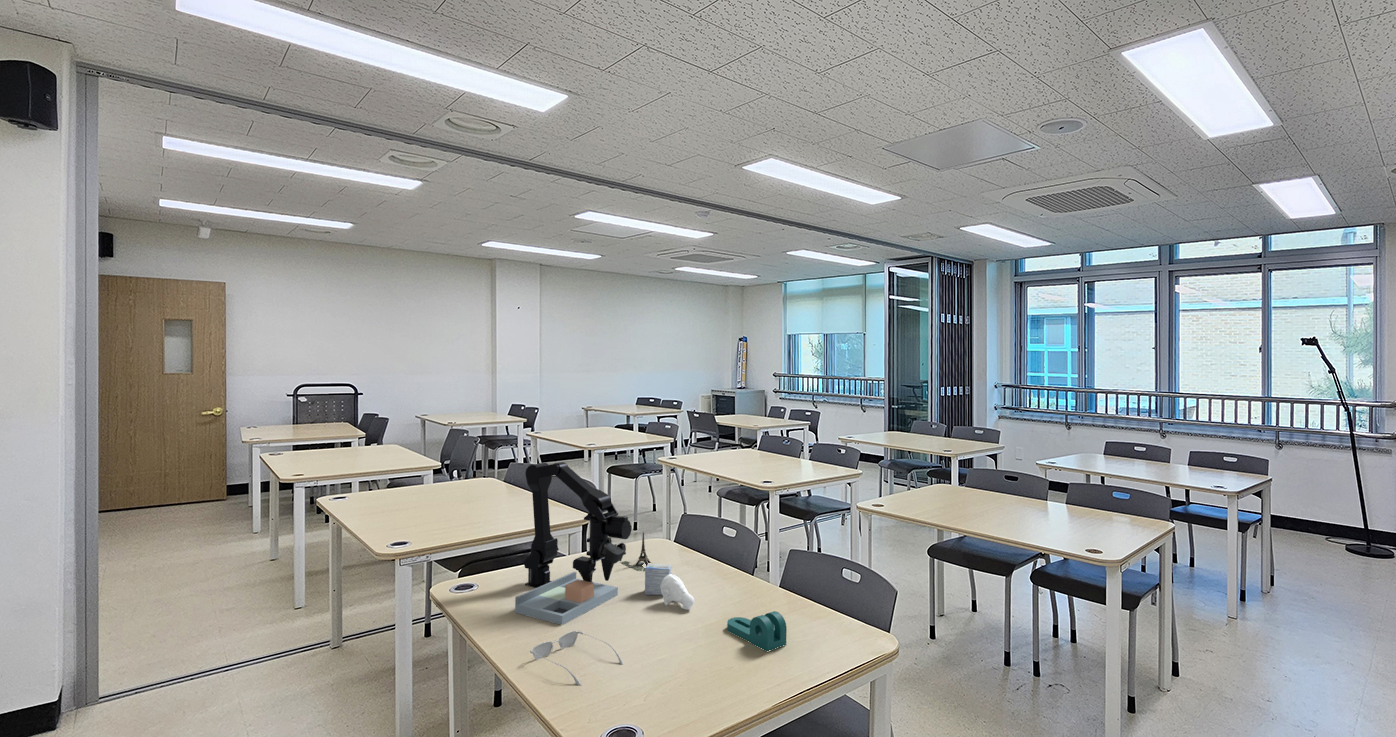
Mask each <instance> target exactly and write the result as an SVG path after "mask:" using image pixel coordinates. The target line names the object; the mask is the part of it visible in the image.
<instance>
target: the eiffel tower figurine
mask: <svg viewBox="0 0 1396 737" xmlns="http://www.w3.org/2000/svg"><path fill="white" fill-rule="evenodd" d="M645 545H646V544H645V532H644V529H643V530H642V542H641V550H640V555H639V557H638V560H637V561H636V563H635V564H634V565H633V564H632V565H630V561H619V563H620V564H623V566H627V567H628V568H630V569H632V570H635V571H636V572H645V568H644V567H643V566H642V565H643V564H644V563H645V564H646V566H647V565H648V563H652V561H650V559H649V557H648V555H647V553H646V549H645V548H646V546H645Z"/></svg>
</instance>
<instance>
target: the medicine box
mask: <svg viewBox="0 0 1396 737" xmlns="http://www.w3.org/2000/svg"><path fill="white" fill-rule="evenodd" d="M669 574H672V564H664V563H663V564H662V563H661V564H660V563H652V564H648V565H647V566H646V568H645V571H644V595H645V596H646V595H647V596H648V595H650V596H663V594H662V593H661V588H660V585H661V584H662V580H663V579H664V578H665V577H666V576H667V575H669Z"/></svg>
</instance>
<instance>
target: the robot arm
mask: <svg viewBox="0 0 1396 737" xmlns="http://www.w3.org/2000/svg"><path fill="white" fill-rule="evenodd" d="M524 474H525V475H524V476H525V478H526V479H525V480H526V484H527V486H528V488H529V489H530V491H531V493H532V509H533V522H534V523H533V524H534V537H533V540H532V543H531V544H530V553H529V555H528V557H527V558H525V559H524V561H523V565H524V568H525V569H527V570H528V574H527V575H528V577H527V578H528V580H527V581H528V582H525V583H524V586H526V587H531V588H534V589H535V588H538V587H540V586H542V585H545V584H547V583H549V582H551V581H552V580H551V571H550V564H553V562H554V559H555V558H556V556H557V555H558V551H559V545H558V542H559V540H558V538H556V537H555V538H554V537H553V535H552V533H551V523H550V505H549V492H548V491H549V488H550V485H551V482H552V476H553V477H554V476H555V477H557V478H558V479H559V480H560V481H561V482H562V483H563V484H564V485H565V486H566V487H568V488H569V489H570V490H571V491H572V492H573V493H574V494H575V495H576V496H578V497H579V499H580V500H581V503H582V506H583V507H584V508H585V509H586V511H587V512H588V513H587V515H586V516H583V521H589V537H588V538H586V543H589V544H588V545H589V550H588V551H586V556H583V555H582V556H579V557H577V558H574V559H573V560H572V569H574V570H575V571H578V573H579V575H580V576H581V579H582V580H583V581H587V582H593V575H594V572H595V571H596V570H597V568H596V566H597V562H599V561H600V563H601V567H602V572H603V577H604V580H605V581H607V582H609V580H610V576H611V574H612V570H613V568H614V565H615V564H617V563H619V562H622V560H623V558H624V556H625V555H627V551H626V550H627V545H626V544H625V543H624V542H620V543H618V544H617V543H615V544H613V542H612V538H614V539H620V540H627V539H629V538H630V536H631V534H632V529H633V528H632V525H631V524H632V523H631V522H630V520H629V517H628V516H627V515H621V516H620V515H619V512H618V510H617V509H616V507H615V505H614V504H613V502H612V498H611V496H610V495H609V494H608V493H605V491H602V490H601V489H597V488H595V487H592V486H591V485H590V484H589V483H588V482H587V481H586V480H585V479H583V478H582V477H581V476H580V475H579V474H577V473H576V472H575V470H573V469H572V468H570V467H569V466H568V464H567V462H565V461H560V462H555V463H552V464H549V463H547V462H540V463H535V464H530V465H528V467H527V468H526V469H525V473H524Z"/></svg>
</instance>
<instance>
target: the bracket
mask: <svg viewBox="0 0 1396 737" xmlns="http://www.w3.org/2000/svg"><path fill="white" fill-rule="evenodd" d="M726 624H727V625H726V627H727V628H726V629H727V630H726V631H727V632H729V633H730V632H731V633H730V634H732V633H733V634H732V635H734V634H735V635H734V636H736V635H737V636H736V637H738V636H739V637H738V638H740V637H741V638H743V639H745V640H747V641H749V642H751V643H752V644H751V643H750V644H751V645H753V644H754V645H753V646H755V645H756V646H755V647H757V646H758V647H760V648H762V649H764V650H766V651H769V650H772V649H775V648H777V647H780V646H783V645H786V646H787V632H788V631H787V630H788V629H787V623H786V620H785V618H784V616H783V614H781V613H780V612H779V611H777V610H774V611H771V612H768V613H765V614H761V615H757V616H754V617H752V619H749V618H747V617H739V616H738V617H737V616H736V617H731V618H728V619H727V621H726ZM741 638H740V639H741ZM743 639H742V640H743ZM745 640H744V641H745ZM747 641H746V642H747ZM749 642H748V643H749ZM758 647H757V648H758ZM760 648H759V649H760ZM762 649H761V650H762ZM764 650H763V651H764ZM775 650H776V649H775ZM766 651H765V652H766ZM772 651H773V650H772Z"/></svg>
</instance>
